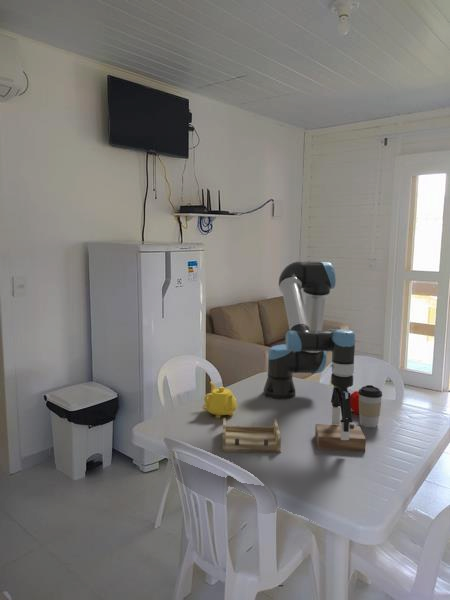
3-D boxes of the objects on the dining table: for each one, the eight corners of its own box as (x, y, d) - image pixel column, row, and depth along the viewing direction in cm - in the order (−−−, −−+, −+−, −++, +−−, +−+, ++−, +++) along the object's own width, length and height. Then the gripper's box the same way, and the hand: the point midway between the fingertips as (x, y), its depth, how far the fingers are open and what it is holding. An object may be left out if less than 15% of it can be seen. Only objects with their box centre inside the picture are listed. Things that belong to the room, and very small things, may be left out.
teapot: (193, 408, 194) (193, 383, 192) (224, 403, 200) (224, 378, 199) (213, 425, 176) (213, 397, 174) (246, 419, 182) (246, 392, 181)
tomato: (376, 419, 184) (377, 398, 183) (346, 414, 189) (347, 394, 188) (378, 410, 194) (379, 390, 193) (349, 406, 198) (350, 386, 197)
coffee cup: (382, 429, 174) (384, 392, 172) (357, 427, 176) (359, 390, 174) (378, 420, 183) (380, 385, 181) (355, 418, 185) (357, 383, 183)
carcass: (223, 432, 170) (223, 418, 169) (275, 432, 170) (276, 419, 169) (222, 451, 154) (222, 436, 153) (280, 452, 154) (281, 437, 153)
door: (315, 436, 168) (315, 421, 167) (358, 438, 166) (359, 423, 166) (318, 450, 157) (319, 433, 156) (365, 452, 156) (366, 436, 155)
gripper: (324, 364, 171) (322, 418, 173) (340, 384, 146) (337, 446, 148) (344, 364, 171) (342, 418, 173) (363, 384, 146) (360, 447, 148)
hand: (340, 431), depth 161 cm, fingers open, 13 cm apart
